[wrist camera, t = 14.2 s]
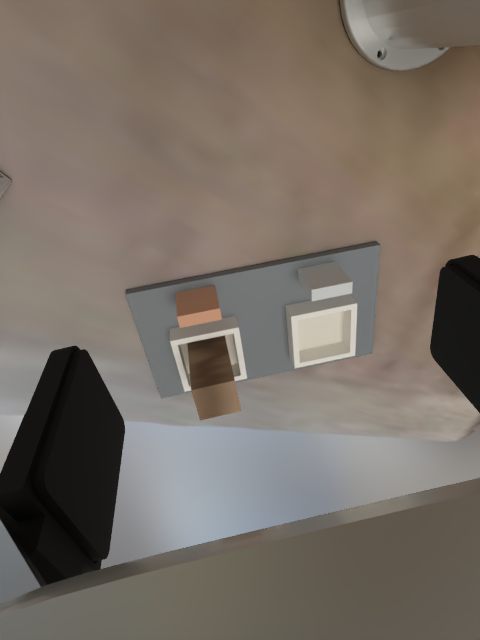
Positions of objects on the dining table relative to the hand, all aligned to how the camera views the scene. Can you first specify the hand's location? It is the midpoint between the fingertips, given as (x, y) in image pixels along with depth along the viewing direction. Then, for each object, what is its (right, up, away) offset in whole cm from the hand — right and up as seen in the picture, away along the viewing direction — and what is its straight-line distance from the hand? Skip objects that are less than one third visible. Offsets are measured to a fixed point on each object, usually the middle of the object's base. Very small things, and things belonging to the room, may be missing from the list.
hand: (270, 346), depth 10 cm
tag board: (+2, 0, +39) cm, 39 cm away
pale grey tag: (+8, +6, +35) cm, 36 cm away
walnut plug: (-5, -3, +38) cm, 38 cm away
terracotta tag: (-6, +4, +34) cm, 35 cm away
